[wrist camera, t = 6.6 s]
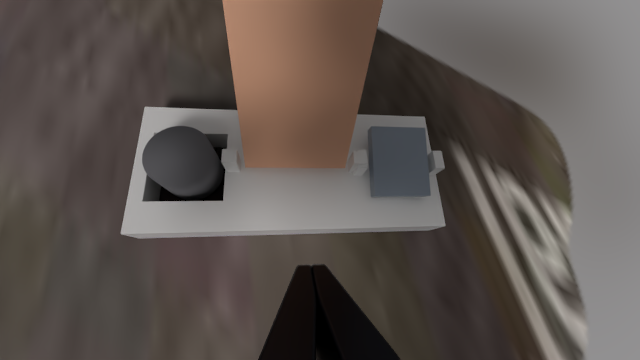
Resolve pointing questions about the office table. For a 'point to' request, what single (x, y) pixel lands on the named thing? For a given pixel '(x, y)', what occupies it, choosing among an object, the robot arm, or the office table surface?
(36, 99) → the office table surface
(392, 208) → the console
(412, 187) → the rocker switch
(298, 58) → the paddle lever
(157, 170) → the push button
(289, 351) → the robot arm
